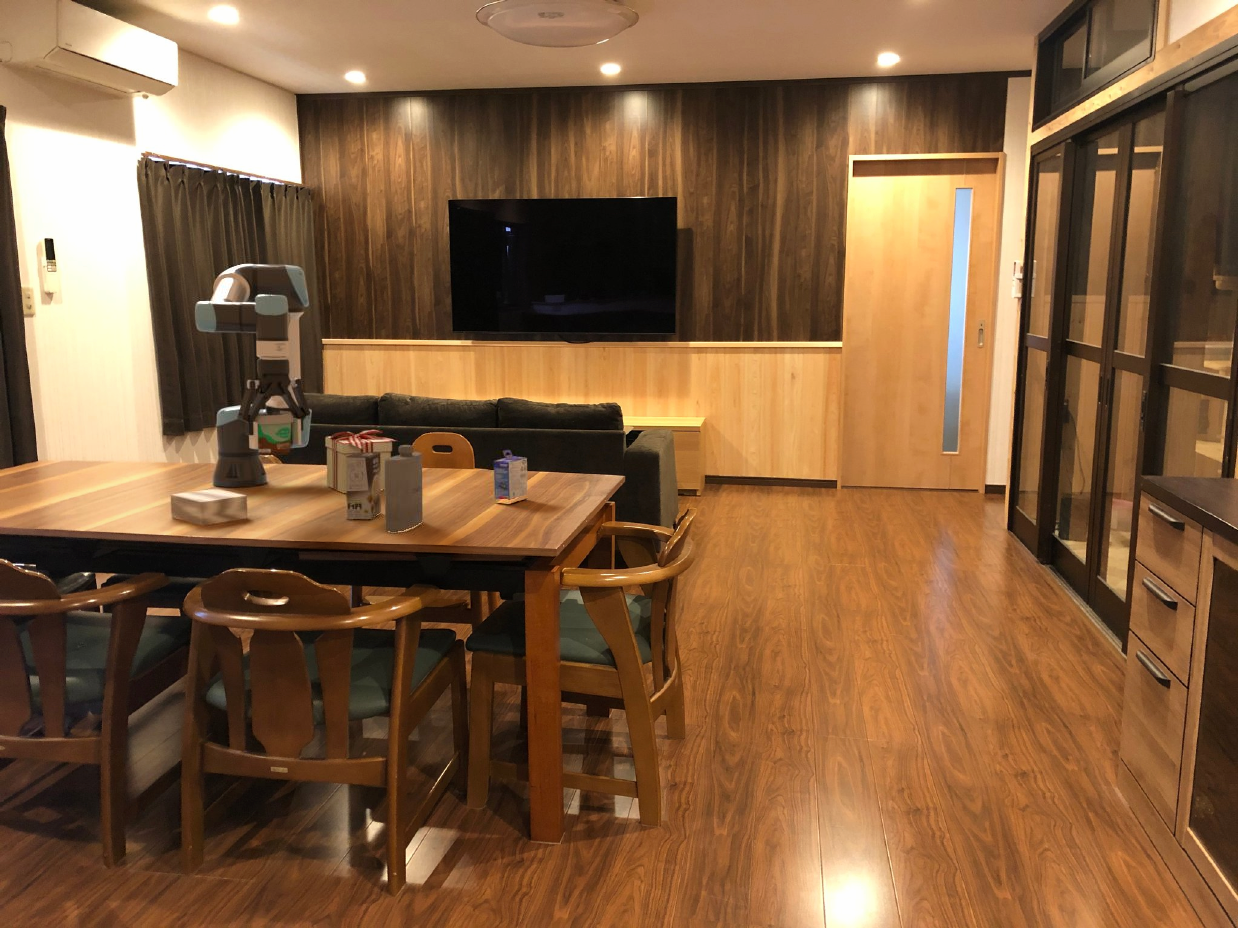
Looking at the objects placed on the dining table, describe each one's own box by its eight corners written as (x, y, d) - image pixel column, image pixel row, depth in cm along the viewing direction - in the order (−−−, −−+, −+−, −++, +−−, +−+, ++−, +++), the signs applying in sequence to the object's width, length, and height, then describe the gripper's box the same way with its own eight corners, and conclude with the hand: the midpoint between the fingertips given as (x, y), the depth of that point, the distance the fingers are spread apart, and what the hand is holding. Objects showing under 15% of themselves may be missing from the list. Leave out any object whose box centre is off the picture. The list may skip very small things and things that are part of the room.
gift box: (350, 496, 268) (348, 436, 266) (322, 487, 282) (320, 429, 280) (404, 490, 280) (403, 432, 277) (374, 481, 293) (374, 426, 291)
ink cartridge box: (511, 497, 272) (511, 447, 270) (528, 499, 270) (528, 449, 268) (492, 503, 264) (493, 451, 261) (509, 505, 261) (510, 453, 259)
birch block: (216, 511, 246) (215, 488, 245) (247, 519, 238) (246, 495, 237) (171, 518, 236) (170, 494, 235) (202, 526, 228) (201, 502, 227)
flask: (405, 534, 224) (404, 450, 221) (382, 532, 225) (381, 449, 222) (428, 521, 239) (428, 442, 236) (406, 520, 240) (405, 441, 237)
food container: (278, 457, 232) (276, 416, 231) (255, 456, 233) (253, 415, 232) (304, 450, 244) (303, 411, 242) (282, 449, 245) (281, 410, 244)
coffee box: (371, 520, 238) (370, 457, 236) (346, 519, 238) (345, 456, 236) (381, 513, 247) (380, 452, 245) (357, 512, 247) (356, 451, 245)
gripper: (236, 360, 222) (239, 452, 226) (323, 358, 241) (325, 443, 244) (219, 358, 227) (223, 449, 230) (306, 356, 245) (308, 440, 249)
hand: (275, 446), depth 237 cm, fingers closed on food container, 11 cm apart
